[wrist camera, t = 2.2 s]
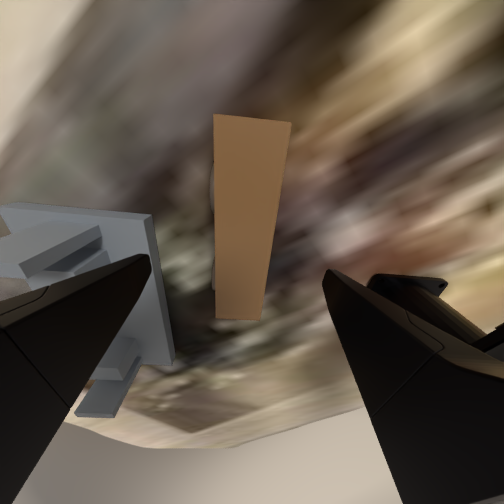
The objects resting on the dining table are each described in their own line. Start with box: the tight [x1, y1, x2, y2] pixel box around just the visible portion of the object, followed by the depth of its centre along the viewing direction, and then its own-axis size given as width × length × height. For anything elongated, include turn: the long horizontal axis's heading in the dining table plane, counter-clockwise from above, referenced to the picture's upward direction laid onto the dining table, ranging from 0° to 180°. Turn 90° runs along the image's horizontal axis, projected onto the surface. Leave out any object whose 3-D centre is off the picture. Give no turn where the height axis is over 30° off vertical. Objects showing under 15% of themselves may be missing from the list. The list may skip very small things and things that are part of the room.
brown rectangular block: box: [210, 114, 292, 321], centre depth 13 cm, size 13×4×3 cm, turn 175°
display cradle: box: [0, 202, 175, 418], centre depth 14 cm, size 9×17×6 cm, turn 174°
